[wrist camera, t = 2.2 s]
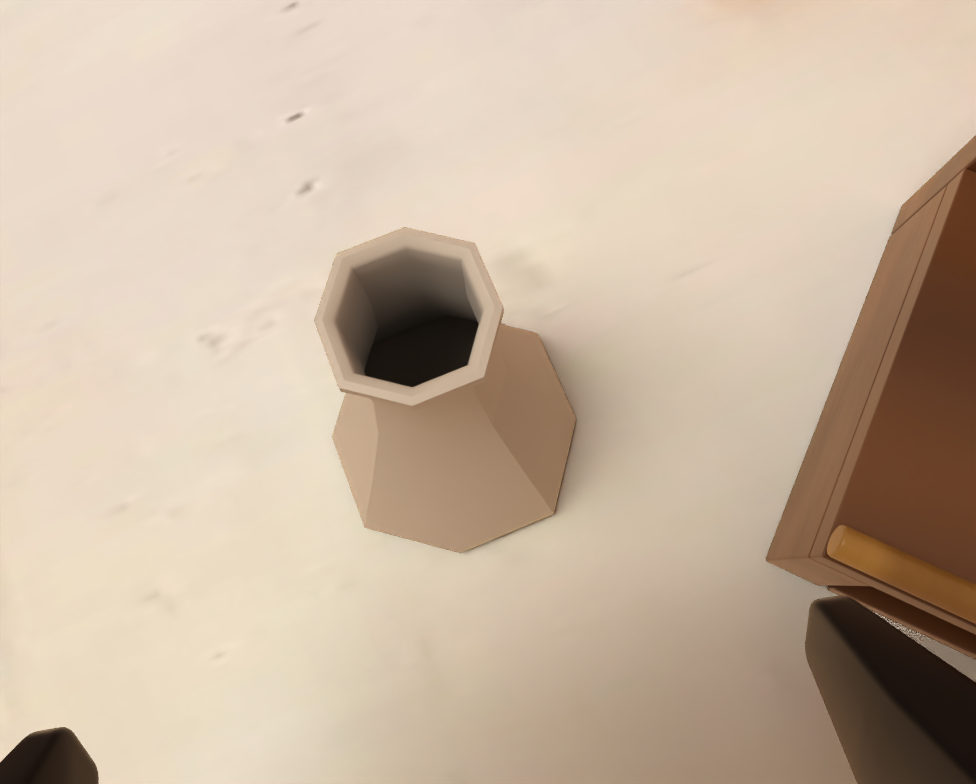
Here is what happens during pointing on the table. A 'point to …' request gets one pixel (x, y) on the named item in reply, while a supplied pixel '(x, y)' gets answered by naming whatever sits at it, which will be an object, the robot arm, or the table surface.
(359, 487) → the flask
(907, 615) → the spice rack
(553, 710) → the table surface
